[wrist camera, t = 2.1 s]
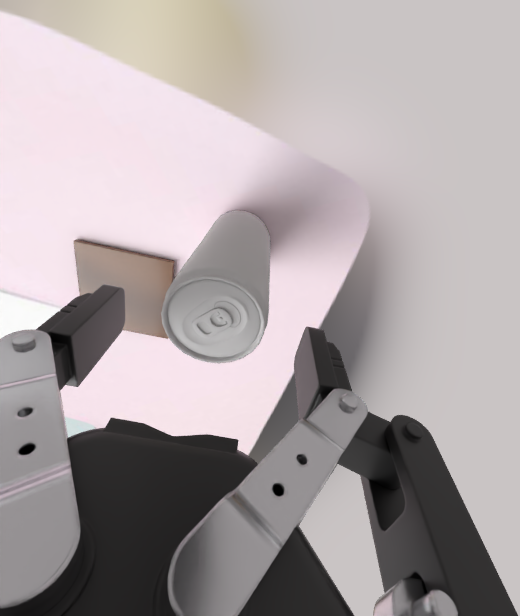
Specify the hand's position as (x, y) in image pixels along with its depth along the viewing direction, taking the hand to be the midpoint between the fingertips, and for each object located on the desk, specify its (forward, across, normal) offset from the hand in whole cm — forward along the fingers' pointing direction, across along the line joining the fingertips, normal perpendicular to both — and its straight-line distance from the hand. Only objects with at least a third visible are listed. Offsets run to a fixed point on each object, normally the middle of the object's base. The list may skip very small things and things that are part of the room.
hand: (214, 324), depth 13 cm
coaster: (+12, +9, +7) cm, 16 cm away
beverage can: (+12, 0, 0) cm, 12 cm away
